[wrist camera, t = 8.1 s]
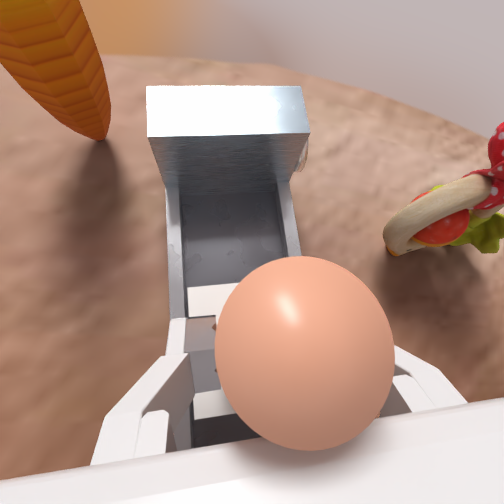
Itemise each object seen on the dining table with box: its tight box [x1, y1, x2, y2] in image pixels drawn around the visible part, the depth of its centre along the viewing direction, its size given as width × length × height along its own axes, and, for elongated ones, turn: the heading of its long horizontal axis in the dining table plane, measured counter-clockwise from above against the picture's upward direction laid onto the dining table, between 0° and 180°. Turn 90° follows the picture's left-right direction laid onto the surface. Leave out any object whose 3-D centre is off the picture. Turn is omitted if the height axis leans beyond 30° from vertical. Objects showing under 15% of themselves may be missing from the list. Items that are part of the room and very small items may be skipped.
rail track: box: [147, 86, 310, 451], centre depth 15 cm, size 8×24×8 cm, turn 7°
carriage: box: [187, 256, 395, 451], centre depth 11 cm, size 6×6×13 cm
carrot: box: [0, 0, 111, 141], centre depth 15 cm, size 5×5×15 cm
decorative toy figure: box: [383, 122, 504, 256], centre depth 18 cm, size 6×11×9 cm
